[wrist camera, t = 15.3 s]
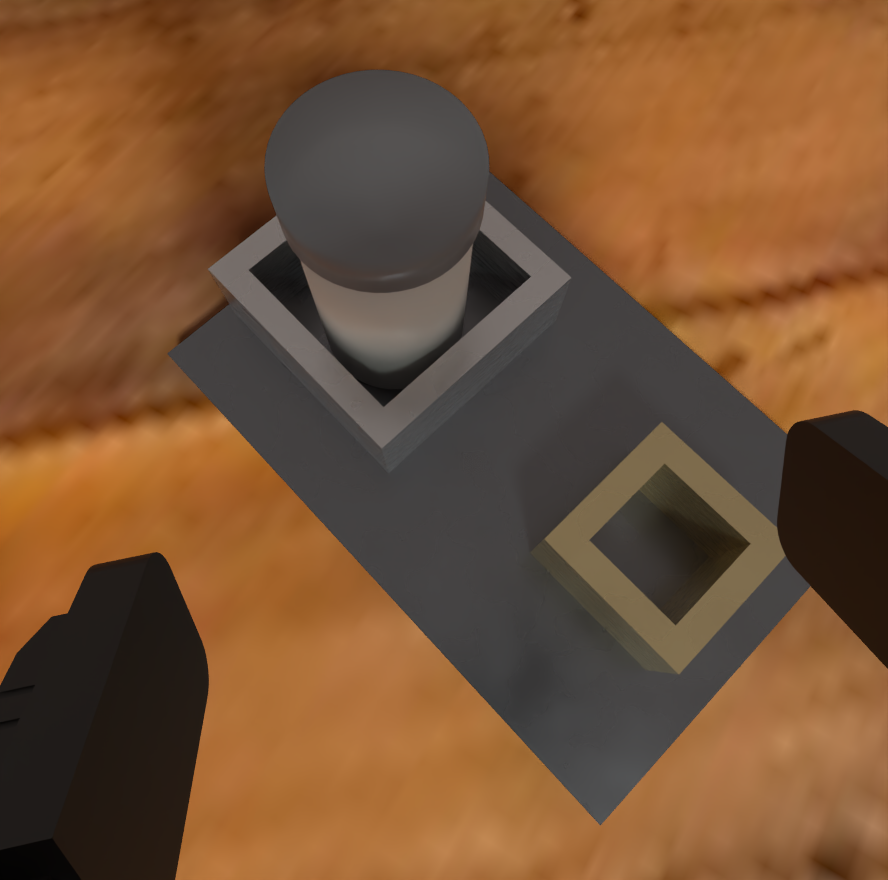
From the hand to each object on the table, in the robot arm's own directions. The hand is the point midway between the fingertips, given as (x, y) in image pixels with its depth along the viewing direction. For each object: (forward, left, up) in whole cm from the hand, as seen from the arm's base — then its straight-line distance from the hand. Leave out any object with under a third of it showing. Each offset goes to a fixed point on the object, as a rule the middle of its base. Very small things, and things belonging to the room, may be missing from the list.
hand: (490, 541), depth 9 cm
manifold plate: (-3, +6, -18) cm, 19 cm away
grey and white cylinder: (-9, +6, -16) cm, 20 cm away
